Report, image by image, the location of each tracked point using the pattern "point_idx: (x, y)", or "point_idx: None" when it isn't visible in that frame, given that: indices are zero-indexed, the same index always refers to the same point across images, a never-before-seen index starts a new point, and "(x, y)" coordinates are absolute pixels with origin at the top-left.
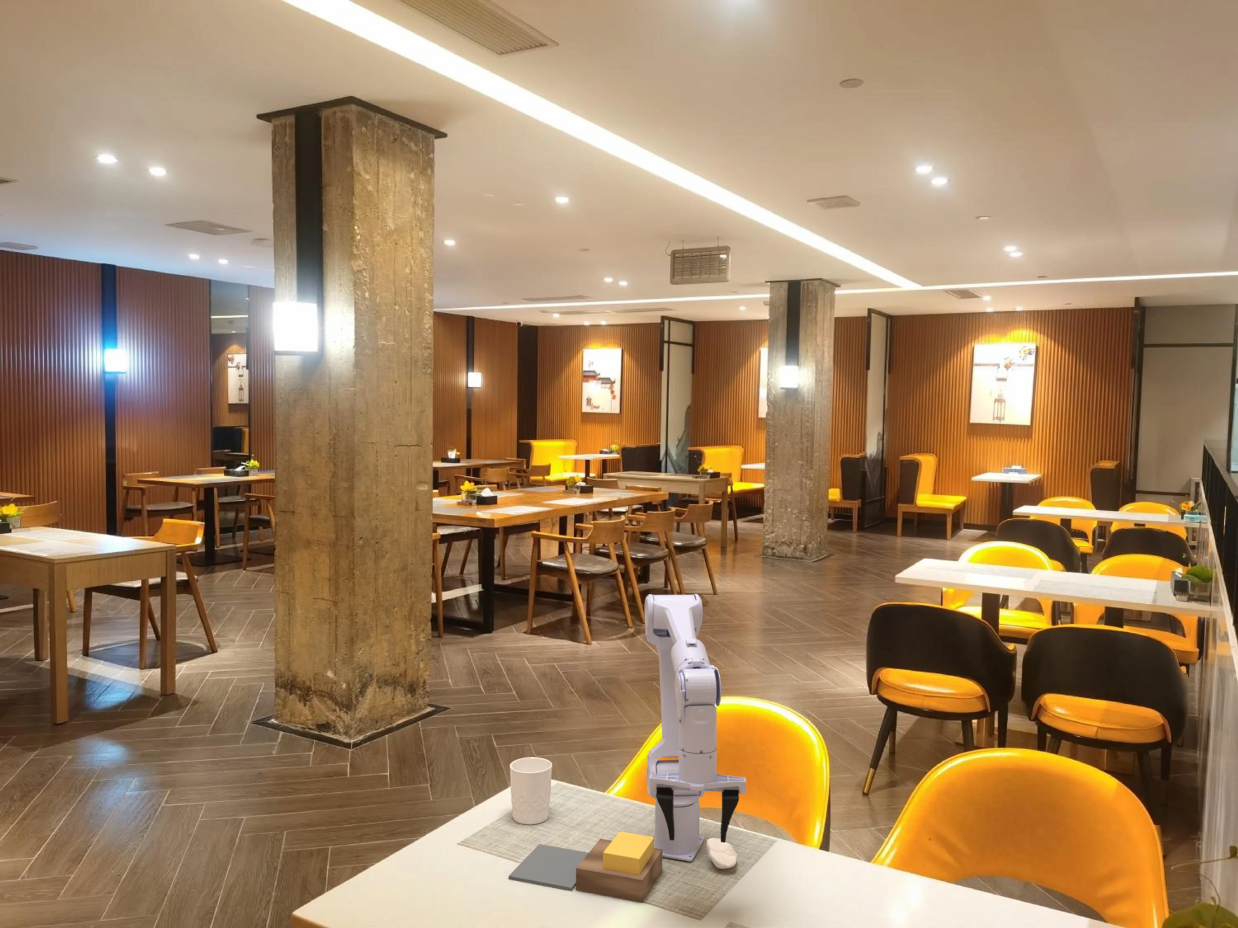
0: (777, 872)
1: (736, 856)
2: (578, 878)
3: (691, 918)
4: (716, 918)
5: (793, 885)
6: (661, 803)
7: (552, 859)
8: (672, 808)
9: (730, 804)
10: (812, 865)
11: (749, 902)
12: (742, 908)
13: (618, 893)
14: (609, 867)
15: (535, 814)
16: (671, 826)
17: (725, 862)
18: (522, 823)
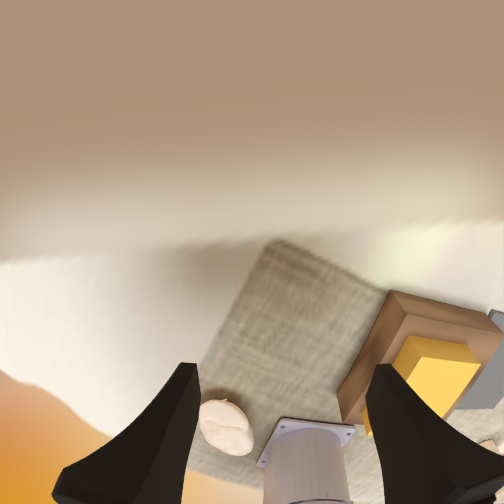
0: (134, 391)
1: (199, 423)
2: (493, 324)
3: (292, 239)
4: (236, 244)
5: (104, 357)
6: (490, 455)
7: (493, 380)
8: (431, 454)
9: (94, 476)
10: (90, 402)
11: (170, 307)
12: (182, 285)
13: (433, 303)
14: (459, 345)
15: None
16: (404, 395)
17: (217, 406)
18: (489, 440)
